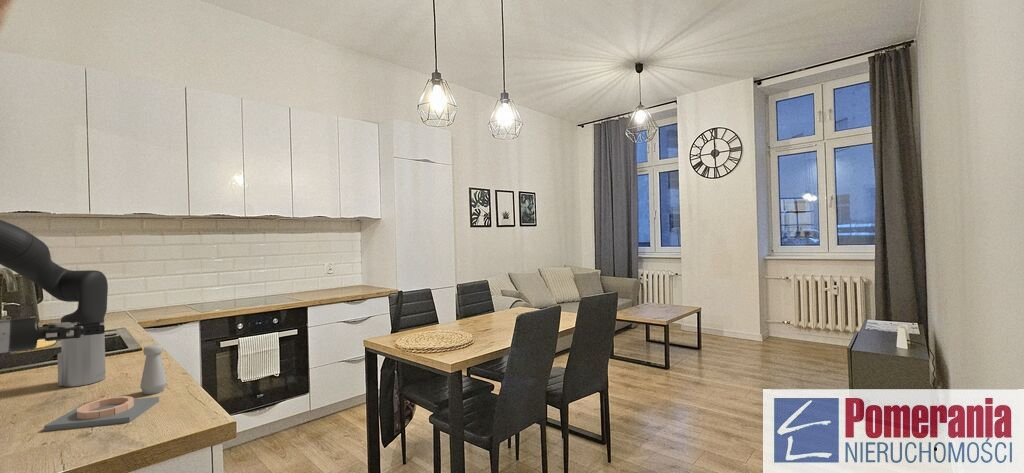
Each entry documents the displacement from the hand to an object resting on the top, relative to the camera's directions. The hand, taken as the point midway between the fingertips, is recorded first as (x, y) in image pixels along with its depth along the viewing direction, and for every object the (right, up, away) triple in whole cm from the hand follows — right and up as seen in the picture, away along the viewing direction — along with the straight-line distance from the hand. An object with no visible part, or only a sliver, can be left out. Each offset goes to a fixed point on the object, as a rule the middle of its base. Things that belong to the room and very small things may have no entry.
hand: (101, 327), depth 114 cm
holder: (+9, -20, -8) cm, 23 cm away
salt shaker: (+8, -20, +7) cm, 22 cm away
